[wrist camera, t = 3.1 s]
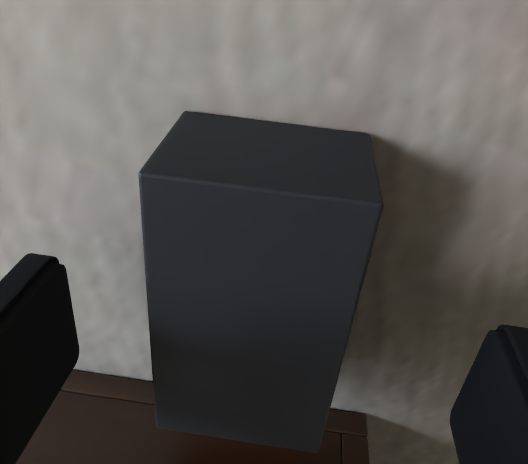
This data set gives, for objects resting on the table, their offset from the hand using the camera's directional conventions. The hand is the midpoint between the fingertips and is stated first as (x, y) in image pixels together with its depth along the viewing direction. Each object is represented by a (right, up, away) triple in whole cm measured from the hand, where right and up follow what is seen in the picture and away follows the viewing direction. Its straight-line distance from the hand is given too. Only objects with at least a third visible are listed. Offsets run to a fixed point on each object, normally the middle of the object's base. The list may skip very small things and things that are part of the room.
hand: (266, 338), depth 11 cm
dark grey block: (0, +2, +1) cm, 2 cm away
